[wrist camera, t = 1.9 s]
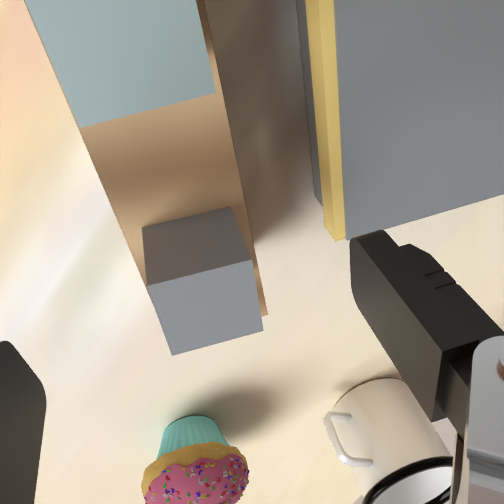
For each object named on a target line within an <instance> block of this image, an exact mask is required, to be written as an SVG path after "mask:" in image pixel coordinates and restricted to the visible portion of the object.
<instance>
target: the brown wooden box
mask: <svg viewBox="0 0 504 504" xmlns="http://www.w3.org/2000/svg"><path fill="white" fill-rule="evenodd" d="M24 2H25V1H24ZM196 3H197V8H198V13H199V17H200V22H201V26H202V31H203V35H204V40H205V44H206V49H207V53H208V58H209V62H210V67H211V71H212V76H213V80H214V85H215V90H216V93H214V94H210V95H206V96H202V97H198V98H194V99H190V100H186V101H183V102H179V103H175V104H171V105H167V106H163V107H159V108H156V109H152V110H148V111H144V112H140V113H136V114H132V115H128V116H125V117H121V118H117V119H113V120H109V121H105V122H101V123H97V124H94V125H90V126H86V127H82V128H79V126H78V123H77V121H76V119H75V116H74V114H73V112H72V109H71V107H70V105H69V102H68V100H67V98H66V96H65V93H64V91H63V89H62V86H61V84H60V82H59V79H58V77H57V75H56V72H55V70H54V68H53V65H52V63H51V61H50V58H49V56H48V54H47V52H46V54H47V56H48V58H49V61H50V63H51V65H52V68H53V70H54V72H55V75H56V77H57V79H58V82H59V84H60V86H61V89H62V91H63V93H64V96H65V98H66V101H67V103H68V105H69V108H70V110H71V112H72V115H73V117H74V119H75V122H76V124H77V126H78V129H79V131H80V133H81V136H82V138H83V141H84V143H85V145H86V148H87V150H88V152H89V155H90V157H91V159H92V162H93V164H94V166H95V169H96V171H97V173H98V176H99V178H100V181H101V183H102V185H103V188H104V190H105V192H106V195H107V197H108V199H109V202H110V204H111V206H112V209H113V211H114V213H115V216H116V218H117V220H118V223H119V225H120V228H121V230H122V232H123V235H124V237H125V239H126V242H127V244H128V246H129V249H130V251H131V253H132V256H133V258H134V260H135V263H136V265H137V268H138V270H139V272H140V275H141V277H142V279H143V282H144V284H145V286H146V289H147V291H148V288H147V283H146V272H145V261H144V250H143V238H142V227H146V226H150V225H154V224H159V223H163V222H167V221H171V220H175V219H180V218H184V217H188V216H192V215H196V214H200V213H205V212H209V211H213V210H217V209H221V208H226V207H230V206H231V209H232V211H233V214H234V216H235V219H236V221H237V224H238V226H239V229H240V231H241V233H242V236H243V238H244V241H245V243H246V246H247V248H248V251H249V253H250V256H251V258H252V262H253V269H254V275H255V281H256V287H257V294H258V300H259V306H260V312H261V317H262V316H265V315H268V313H267V308H266V303H265V298H264V293H263V288H262V283H261V278H260V274H259V269H258V264H257V259H256V254H255V249H254V244H253V239H252V234H251V230H250V225H249V220H248V215H247V210H246V205H245V200H244V195H243V190H242V186H241V181H240V176H239V171H238V166H237V161H236V156H235V151H234V146H233V142H232V137H231V132H230V127H229V122H228V117H227V112H226V107H225V103H224V98H223V93H222V88H221V83H220V78H219V73H218V68H217V63H216V59H215V54H214V49H213V44H212V39H211V34H210V29H209V24H208V19H207V15H206V10H205V5H204V0H196ZM25 4H26V3H25ZM26 6H27V5H26ZM27 9H28V7H27ZM28 11H29V10H28ZM29 14H30V12H29ZM30 16H31V14H30ZM31 18H32V17H31ZM32 21H33V19H32ZM33 23H34V21H33ZM34 25H35V24H34ZM35 28H36V26H35ZM36 30H37V28H36ZM37 32H38V31H37ZM38 35H39V33H38ZM39 37H40V35H39ZM40 39H41V38H40ZM41 42H42V40H41ZM42 44H43V42H42ZM43 46H44V45H43ZM44 49H45V47H44ZM45 51H46V49H45ZM148 293H149V291H148ZM149 296H150V294H149ZM150 298H151V296H150ZM151 300H152V299H151ZM152 303H153V302H152ZM154 308H155V307H154Z"/></svg>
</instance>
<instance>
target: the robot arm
mask: <svg viewBox="0 0 504 504" xmlns="http://www.w3.org/2000/svg"><path fill="white" fill-rule="evenodd" d="M350 271H351V288H352V293H353V296H354V299H355V302H356V304H357V306H358V308H359V310H360V312H361V313H362V315H363V316H364V318H365V319H366V321H367V323H368V324H369V326H370V327H371V329H372V330H373V332H374V334H375V335H376V337H377V338H378V340H379V341H380V343H381V345H382V346H383V348H384V349H385V351H386V352H387V354H388V356H389V357H390V359H391V360H392V362H393V363H394V365H395V367H396V368H397V370H398V371H399V373H400V374H401V376H402V378H403V379H404V381H405V382H406V384H407V385H408V387H409V389H410V390H411V392H412V393H413V395H414V397H415V398H416V400H417V401H418V403H419V404H420V406H421V408H422V409H423V411H424V412H425V414H426V415H427V417H428V419H429V420H430V422H431V423H432V422H435V421H438V420H441V419H444V418H447V417H448V419H449V420H450V422H451V423H452V424H453V426H454V427H455V429H456V435H455V444H454V456H453V468H452V479H451V491H450V502H449V504H504V331H502V329H501V328H500V327H499V326H498V325H497V324H496V323H495V322H494V321H493V320H492V319H491V318H490V317H489V316H488V315H487V314H486V313H485V312H484V311H483V309H482V308H481V307H480V306H479V305H478V304H477V303H476V302H475V301H474V300H473V299H472V298H471V297H470V296H469V295H468V294H467V293H466V292H465V290H464V289H463V288H462V287H461V286H460V285H457V284H456V281H455V280H454V279H453V278H452V277H451V276H450V275H449V274H448V273H447V272H445V271H444V268H443V267H442V266H441V265H440V264H439V263H438V262H437V261H436V260H435V259H434V258H433V257H432V256H431V255H430V254H429V253H427V252H425V251H423V250H421V249H419V248H417V247H415V246H413V245H411V244H407V245H403V246H400V247H399V246H398V245H397V244H396V243H395V242H394V241H393V239H392V238H391V237H390V236H389V235H388V234H387V233H386V232H385V231H384V230H377V231H374V232H371V233H367V234H364V235H361V236H357V237H354V238H351V240H350ZM45 413H46V395H45V391H44V388H43V385H42V383H41V381H40V380H39V378H38V377H37V376H36V374H35V373H34V372H33V370H32V369H31V368H30V367H29V365H28V364H27V363H26V361H25V360H24V359H23V358H22V356H21V355H20V354H19V352H18V351H17V350H16V349H15V347H14V346H13V345H12V344H11V343H10V342H8V341H2V342H0V504H34V498H35V491H36V483H37V475H38V467H39V459H40V452H41V444H42V436H43V428H44V420H45Z"/></svg>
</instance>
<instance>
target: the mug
mask: <svg viewBox="0 0 504 504" xmlns="http://www.w3.org/2000/svg"><path fill="white" fill-rule="evenodd" d="M323 423H324V426H325V429H326V431H327V434H328V437H329V440H330V442H331V444H332V447H333V449H334V451H335V453H336V456H337V457H338V459H339V460H340V461H341V462H342V463H344V464H346V465H349V466H350V468H351V470H352V473H353V475H354V477H355V479H356V482H357V484H358V486H359V489H360V491H361V493H362V496H363V501H362V504H444V503H446V502H447V501H449V500H450V491H451V479H452V468H453V457H452V456H451V454H450V452H449V451H448V449H447V448H446V446H445V444H444V443H443V441H442V440H441V438H440V436H439V435H438V433H437V432H436V430H435V428H434V427H433V425H432V424H431V422H430V420H429V419H428V417H427V416H426V414H425V412H424V411H423V409H422V408H421V406H420V404H419V403H418V401H417V400H416V398H415V397H414V395H413V393H412V392H411V390H410V389H409V387H408V385H407V384H406V383H405V382H403V381H401V380H398V379H392V378H388V379H377V380H372V381H369V382H366V383H364V384H361V385H359V386H357V387H355V388H354V389H352V390H351V391H349V392H348V393H346V394H345V395H344V396H343V397H342V398H341V399H340V400H339V401H338V403H337V404H336V405H335V406H334V408H333V410H332V411H329V412H328V413H327V414H326V415H325V416H324V418H323Z"/></svg>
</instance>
